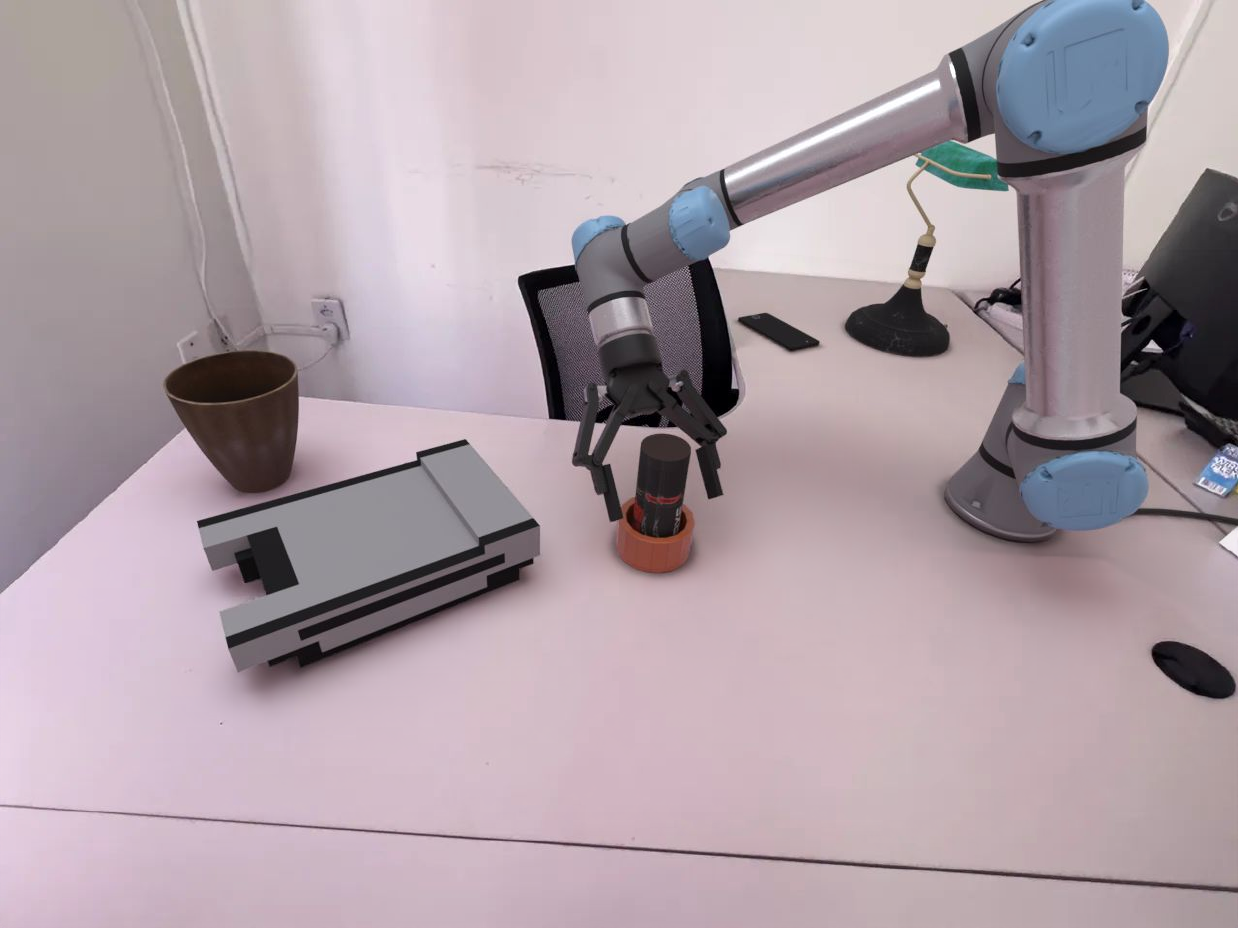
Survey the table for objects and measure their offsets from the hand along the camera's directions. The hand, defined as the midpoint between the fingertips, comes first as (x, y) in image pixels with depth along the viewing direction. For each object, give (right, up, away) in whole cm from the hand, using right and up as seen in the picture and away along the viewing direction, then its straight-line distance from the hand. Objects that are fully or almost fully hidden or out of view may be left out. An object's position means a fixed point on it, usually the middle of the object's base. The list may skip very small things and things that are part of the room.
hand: (667, 508), depth 78 cm
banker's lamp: (+58, +35, +72) cm, 99 cm away
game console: (-34, -8, -1) cm, 35 cm away
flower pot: (-56, +3, +13) cm, 57 cm away
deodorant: (-1, -5, +6) cm, 8 cm away
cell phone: (+30, +35, +68) cm, 82 cm away
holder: (-1, -5, +6) cm, 8 cm away
